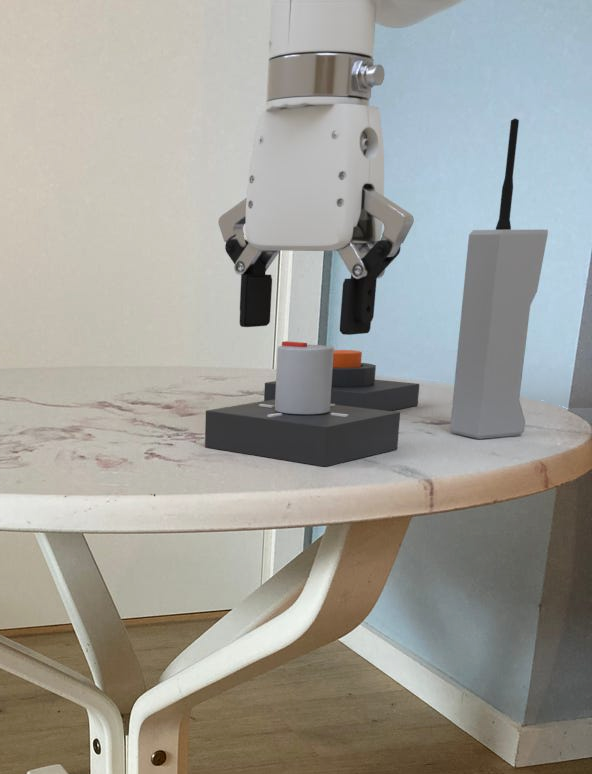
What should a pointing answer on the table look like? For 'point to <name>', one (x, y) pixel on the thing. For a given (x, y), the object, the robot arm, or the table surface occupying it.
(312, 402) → the timer knob
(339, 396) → the block
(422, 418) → the table surface
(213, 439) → the timer panel
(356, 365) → the button
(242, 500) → the table surface
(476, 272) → the vintage mobile phone
